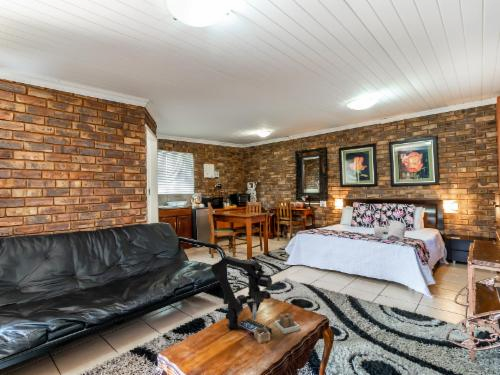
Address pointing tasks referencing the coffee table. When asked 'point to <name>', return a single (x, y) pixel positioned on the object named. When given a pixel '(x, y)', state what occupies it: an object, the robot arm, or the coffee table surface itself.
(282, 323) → the walnut block
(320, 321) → the coffee table surface
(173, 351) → the coffee table surface
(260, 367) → the coffee table surface
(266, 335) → the beige square frame
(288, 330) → the tray
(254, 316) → the cylinder
